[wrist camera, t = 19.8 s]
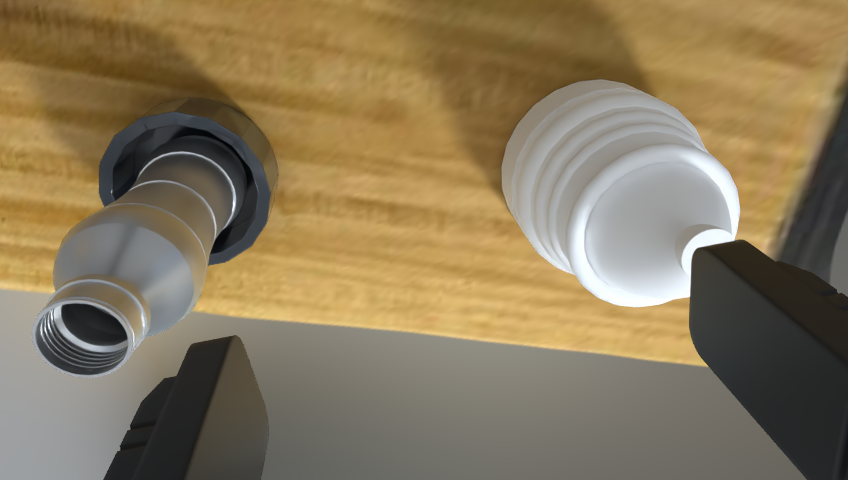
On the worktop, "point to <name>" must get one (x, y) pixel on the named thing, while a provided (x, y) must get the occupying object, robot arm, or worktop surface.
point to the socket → (210, 122)
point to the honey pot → (617, 191)
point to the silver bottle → (139, 258)
